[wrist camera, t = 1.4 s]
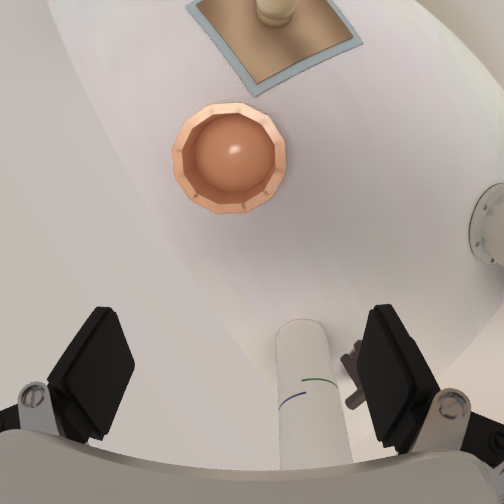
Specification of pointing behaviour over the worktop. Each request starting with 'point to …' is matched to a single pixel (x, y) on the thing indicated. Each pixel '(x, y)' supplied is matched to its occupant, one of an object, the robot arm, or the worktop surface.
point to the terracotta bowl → (229, 158)
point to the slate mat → (283, 75)
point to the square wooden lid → (275, 31)
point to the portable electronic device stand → (354, 378)
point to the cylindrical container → (309, 400)
